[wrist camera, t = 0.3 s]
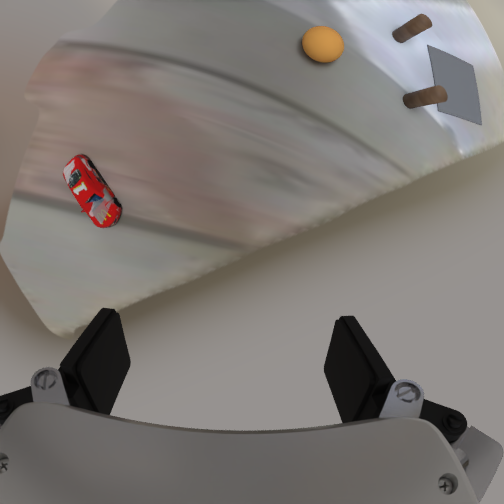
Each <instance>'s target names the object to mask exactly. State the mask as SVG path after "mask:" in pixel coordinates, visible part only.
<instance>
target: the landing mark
mask: <svg viewBox="0 0 504 504" xmlns="http://www.w3.org/2000/svg"><path fill="white" fill-rule="evenodd" d="M427 47H428V51H429V56H430V60H431V65H432V71H433V77H434V83H435V86H437V85H440V86H442V87H443V88H444V89H445V90H446V92H447V95H448V99H447V101H446V102H442V103H437V106H438V111H440V112H443V113H447V114H450V115H453V116H456V117H459V118H462V119H465V120H468V121H471V122H474V123H477V124H479V125H482V121H481V111H480V103H479V96H478V89H477V83H476V78H475V73H474V68H473V65H471V64H469V63H467V62H465V61H463V60H461V59H459V58H457V57H455V56H453V55H450V54H448V53H446V52H444V51H441V50H439V49H437V48H434V47H432V46H429V45H427Z"/></svg>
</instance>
